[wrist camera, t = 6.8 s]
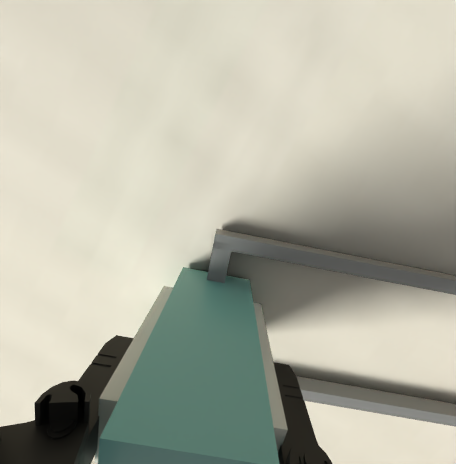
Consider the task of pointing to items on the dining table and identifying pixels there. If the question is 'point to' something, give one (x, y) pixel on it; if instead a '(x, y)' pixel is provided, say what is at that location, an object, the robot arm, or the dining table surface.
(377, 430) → the dining table surface
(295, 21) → the dining table surface
